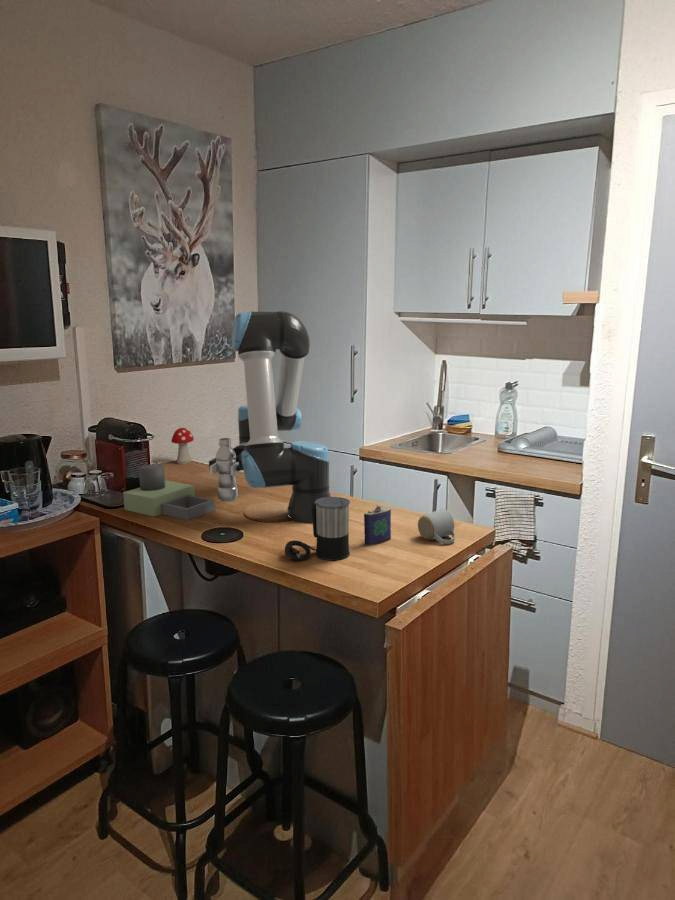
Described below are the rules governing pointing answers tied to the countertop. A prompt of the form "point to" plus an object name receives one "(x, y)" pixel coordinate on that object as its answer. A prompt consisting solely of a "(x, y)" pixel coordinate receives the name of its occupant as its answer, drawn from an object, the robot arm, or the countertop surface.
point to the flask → (377, 526)
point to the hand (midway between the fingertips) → (221, 470)
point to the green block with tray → (165, 496)
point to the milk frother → (326, 530)
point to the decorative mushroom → (182, 444)
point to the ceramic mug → (437, 526)
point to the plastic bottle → (226, 471)
